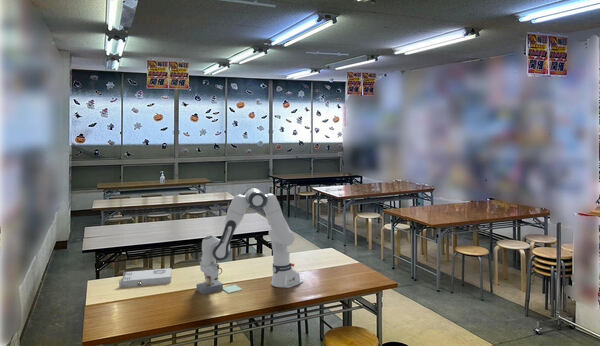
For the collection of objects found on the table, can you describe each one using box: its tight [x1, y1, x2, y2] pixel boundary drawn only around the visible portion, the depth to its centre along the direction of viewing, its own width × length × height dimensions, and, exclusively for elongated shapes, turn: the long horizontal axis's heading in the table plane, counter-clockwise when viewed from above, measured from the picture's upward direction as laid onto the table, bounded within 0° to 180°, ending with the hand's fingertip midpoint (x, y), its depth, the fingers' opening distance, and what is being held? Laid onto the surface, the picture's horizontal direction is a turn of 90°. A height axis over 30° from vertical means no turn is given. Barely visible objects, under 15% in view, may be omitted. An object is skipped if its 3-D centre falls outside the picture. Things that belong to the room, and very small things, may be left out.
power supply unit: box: [118, 267, 173, 288], centre depth 288 cm, size 19×33×5 cm, turn 106°
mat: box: [222, 284, 243, 294], centre depth 271 cm, size 10×10×1 cm
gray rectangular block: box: [195, 279, 224, 295], centre depth 270 cm, size 14×10×4 cm
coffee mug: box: [214, 262, 223, 280], centre depth 290 cm, size 12×9×10 cm
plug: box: [205, 276, 213, 286], centre depth 270 cm, size 4×4×9 cm
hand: (209, 281), depth 269 cm, fingers open, 7 cm apart
